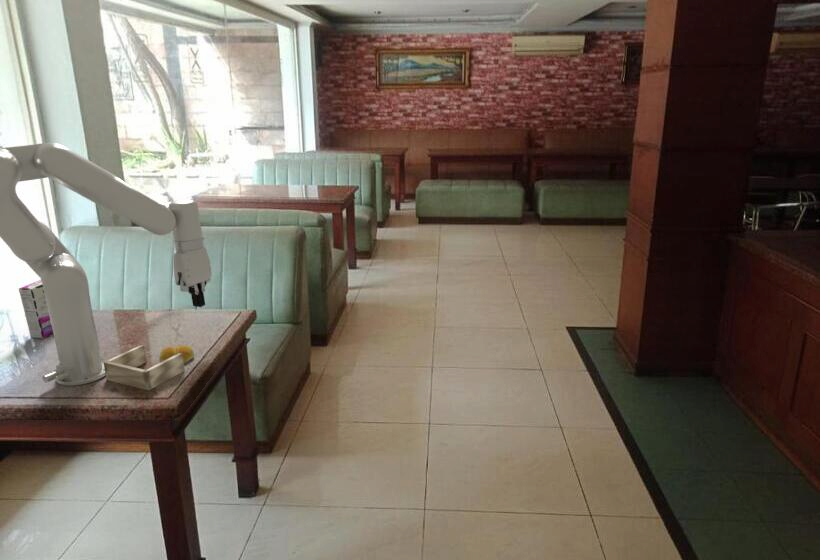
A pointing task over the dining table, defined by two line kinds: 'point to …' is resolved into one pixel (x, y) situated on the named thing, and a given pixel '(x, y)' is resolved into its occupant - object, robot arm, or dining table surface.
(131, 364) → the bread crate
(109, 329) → the dining table surface
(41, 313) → the candy bar box
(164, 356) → the bread roll
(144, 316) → the dining table surface
